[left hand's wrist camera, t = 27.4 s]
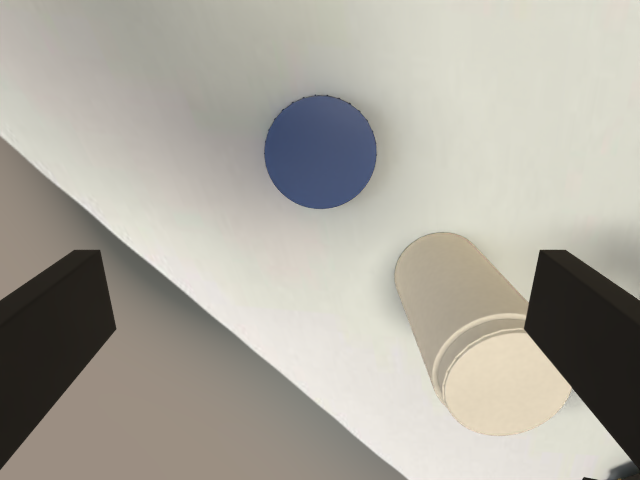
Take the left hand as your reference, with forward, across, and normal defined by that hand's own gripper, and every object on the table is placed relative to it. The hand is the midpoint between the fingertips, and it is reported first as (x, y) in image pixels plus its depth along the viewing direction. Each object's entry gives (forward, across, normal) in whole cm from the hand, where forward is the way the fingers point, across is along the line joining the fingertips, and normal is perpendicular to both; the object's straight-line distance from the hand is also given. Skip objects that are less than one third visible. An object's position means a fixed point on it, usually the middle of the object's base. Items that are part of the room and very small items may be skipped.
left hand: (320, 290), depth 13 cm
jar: (+28, +12, -13) cm, 33 cm away
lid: (+26, 0, 0) cm, 26 cm away
